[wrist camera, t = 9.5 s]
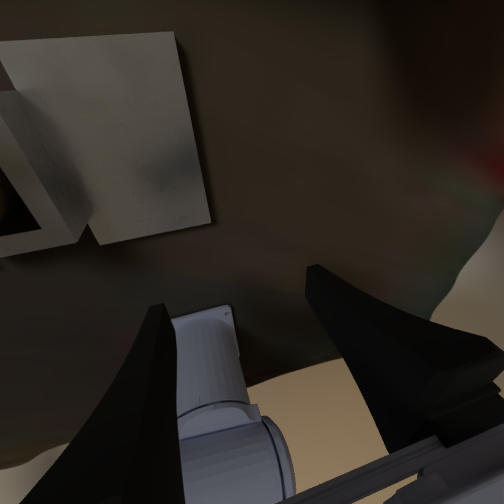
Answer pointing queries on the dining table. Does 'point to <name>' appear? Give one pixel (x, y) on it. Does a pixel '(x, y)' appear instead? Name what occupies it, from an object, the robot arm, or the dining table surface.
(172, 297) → the dining table surface
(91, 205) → the hinge base
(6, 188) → the hinge pin
